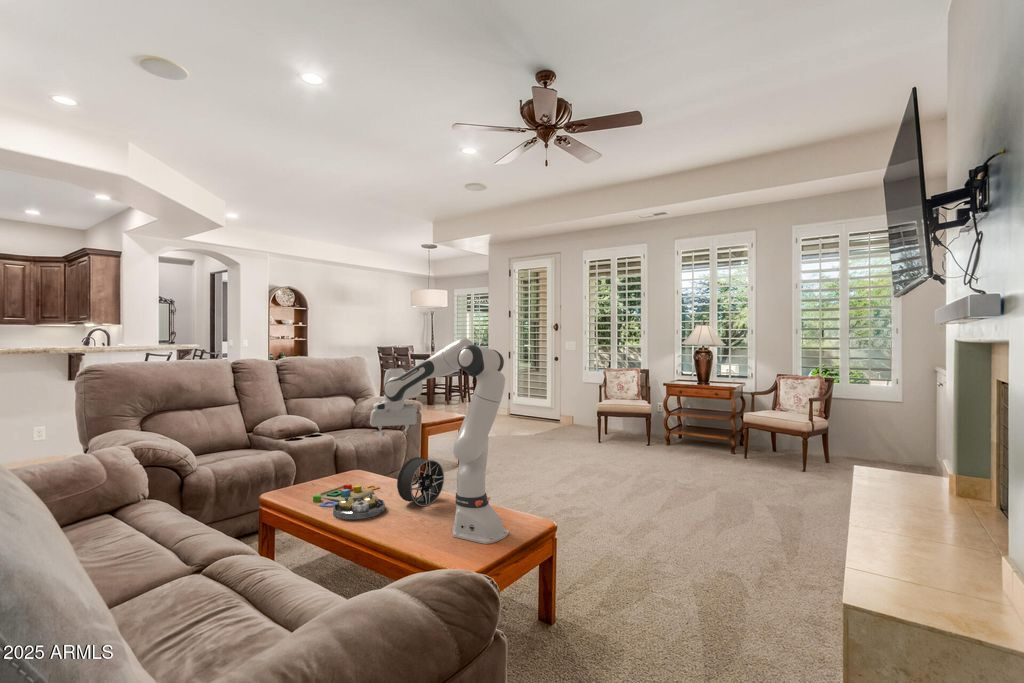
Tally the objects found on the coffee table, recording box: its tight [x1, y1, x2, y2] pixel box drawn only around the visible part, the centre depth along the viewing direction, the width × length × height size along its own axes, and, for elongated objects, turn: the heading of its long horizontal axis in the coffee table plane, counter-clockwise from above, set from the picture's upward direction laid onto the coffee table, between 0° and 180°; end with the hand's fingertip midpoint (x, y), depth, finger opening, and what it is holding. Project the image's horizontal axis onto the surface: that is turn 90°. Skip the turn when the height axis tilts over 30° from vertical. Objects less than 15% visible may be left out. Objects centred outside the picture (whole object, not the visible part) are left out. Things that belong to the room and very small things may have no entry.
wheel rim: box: [396, 456, 445, 507], centre depth 222 cm, size 20×9×20 cm, turn 143°
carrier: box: [332, 494, 386, 522], centre depth 210 cm, size 21×21×6 cm
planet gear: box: [352, 501, 369, 514], centre depth 205 cm, size 7×7×4 cm
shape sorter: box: [312, 483, 381, 508], centre depth 231 cm, size 34×19×5 cm, turn 151°
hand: (393, 435), depth 218 cm, fingers open, 8 cm apart
